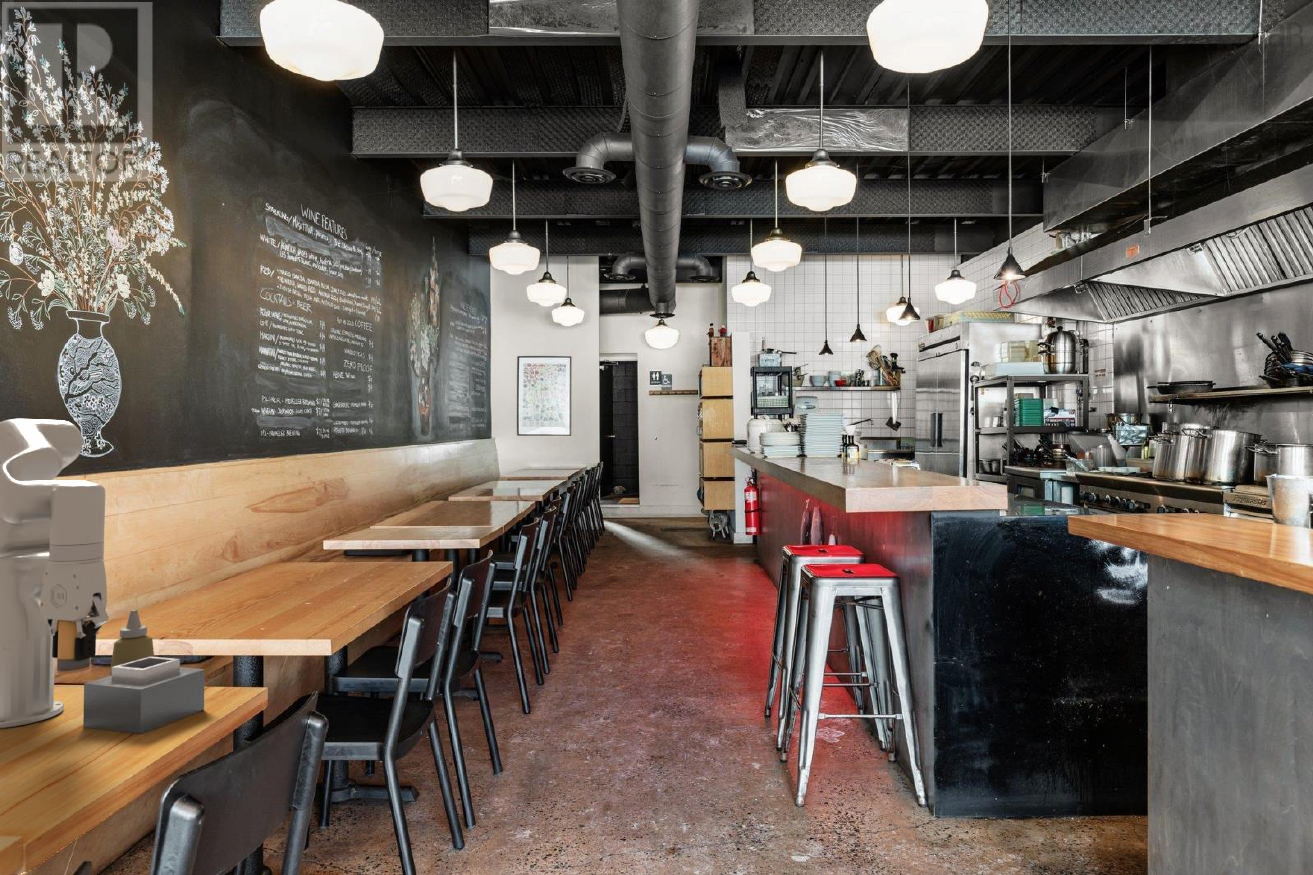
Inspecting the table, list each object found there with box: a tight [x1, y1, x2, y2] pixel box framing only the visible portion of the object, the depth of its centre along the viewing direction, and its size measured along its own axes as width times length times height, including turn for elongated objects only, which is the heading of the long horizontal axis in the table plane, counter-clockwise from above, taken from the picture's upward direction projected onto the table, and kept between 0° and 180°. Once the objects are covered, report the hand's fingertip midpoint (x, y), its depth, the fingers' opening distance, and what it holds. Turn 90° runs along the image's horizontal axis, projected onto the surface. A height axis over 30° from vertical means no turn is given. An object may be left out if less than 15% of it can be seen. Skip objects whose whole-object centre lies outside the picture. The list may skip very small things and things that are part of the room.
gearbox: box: [82, 656, 206, 735], centre depth 138 cm, size 14×13×10 cm
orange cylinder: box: [56, 616, 91, 675], centre depth 126 cm, size 4×4×9 cm
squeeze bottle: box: [109, 609, 155, 676], centre depth 151 cm, size 8×8×18 cm
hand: (73, 656), depth 126 cm, fingers closed on orange cylinder, 4 cm apart
